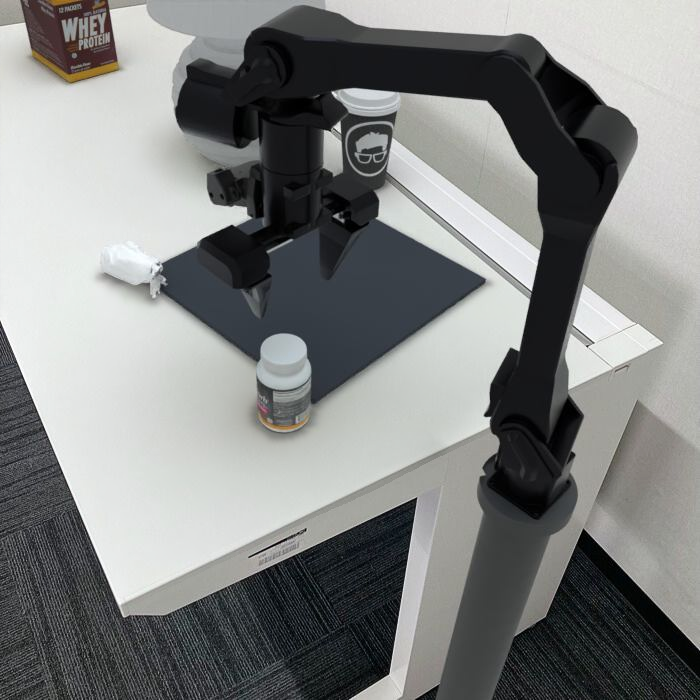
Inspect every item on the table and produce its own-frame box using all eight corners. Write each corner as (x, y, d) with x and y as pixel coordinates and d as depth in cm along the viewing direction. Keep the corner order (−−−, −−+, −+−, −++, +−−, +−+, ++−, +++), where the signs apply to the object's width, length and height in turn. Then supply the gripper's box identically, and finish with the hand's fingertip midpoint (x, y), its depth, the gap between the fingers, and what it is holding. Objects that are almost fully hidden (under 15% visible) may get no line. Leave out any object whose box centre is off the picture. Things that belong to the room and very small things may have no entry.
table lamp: (249, 212, 116) (233, -93, 89) (132, 155, 127) (86, -132, 100) (354, 149, 131) (367, -128, 104) (241, 103, 142) (226, -158, 115)
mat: (485, 282, 106) (486, 278, 105) (314, 403, 88) (314, 400, 87) (316, 189, 121) (316, 186, 121) (142, 276, 104) (141, 273, 103)
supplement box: (70, 83, 145) (51, -5, 134) (32, 56, 153) (12, -29, 143) (120, 70, 150) (106, -17, 140) (81, 44, 159) (65, -40, 148)
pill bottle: (253, 402, 88) (249, 334, 81) (303, 392, 89) (303, 325, 82) (264, 439, 84) (261, 372, 77) (317, 428, 85) (318, 361, 78)
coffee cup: (405, 175, 125) (414, 84, 115) (376, 202, 119) (382, 108, 109) (353, 158, 129) (357, 68, 119) (322, 183, 122) (323, 90, 112)
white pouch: (179, 279, 104) (117, 245, 105) (171, 251, 98) (105, 215, 99) (157, 307, 102) (94, 272, 103) (148, 281, 96) (80, 244, 97)
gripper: (307, 99, 80) (306, 229, 90) (151, 159, 70) (171, 298, 80) (388, 139, 74) (377, 273, 85) (231, 211, 64) (241, 353, 75)
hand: (293, 296), depth 81 cm, fingers open, 9 cm apart
